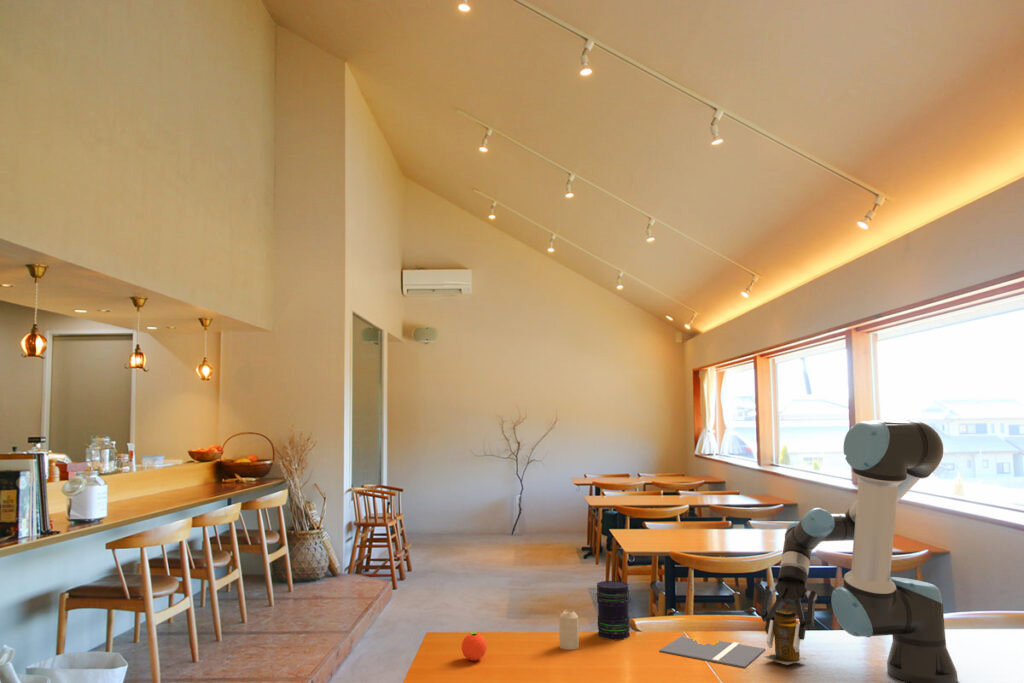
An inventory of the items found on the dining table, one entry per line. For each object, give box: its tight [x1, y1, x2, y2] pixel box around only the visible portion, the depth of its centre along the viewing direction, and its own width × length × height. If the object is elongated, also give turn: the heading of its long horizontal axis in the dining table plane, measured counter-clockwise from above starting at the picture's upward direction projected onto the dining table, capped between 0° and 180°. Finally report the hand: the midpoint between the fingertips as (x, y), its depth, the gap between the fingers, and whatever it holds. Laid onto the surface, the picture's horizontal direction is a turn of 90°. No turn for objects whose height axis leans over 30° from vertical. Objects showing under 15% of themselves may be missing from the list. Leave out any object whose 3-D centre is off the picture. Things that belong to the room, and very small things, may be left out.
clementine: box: [460, 631, 488, 662], centre depth 185 cm, size 8×7×7 cm
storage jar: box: [596, 580, 631, 641], centre depth 207 cm, size 10×10×15 cm
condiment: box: [764, 608, 808, 666], centre depth 180 cm, size 7×8×12 cm
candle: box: [558, 609, 580, 651], centre depth 195 cm, size 6×6×10 cm
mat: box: [658, 635, 766, 669], centre depth 190 cm, size 24×18×1 cm
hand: (782, 646), depth 177 cm, fingers closed on condiment, 6 cm apart
